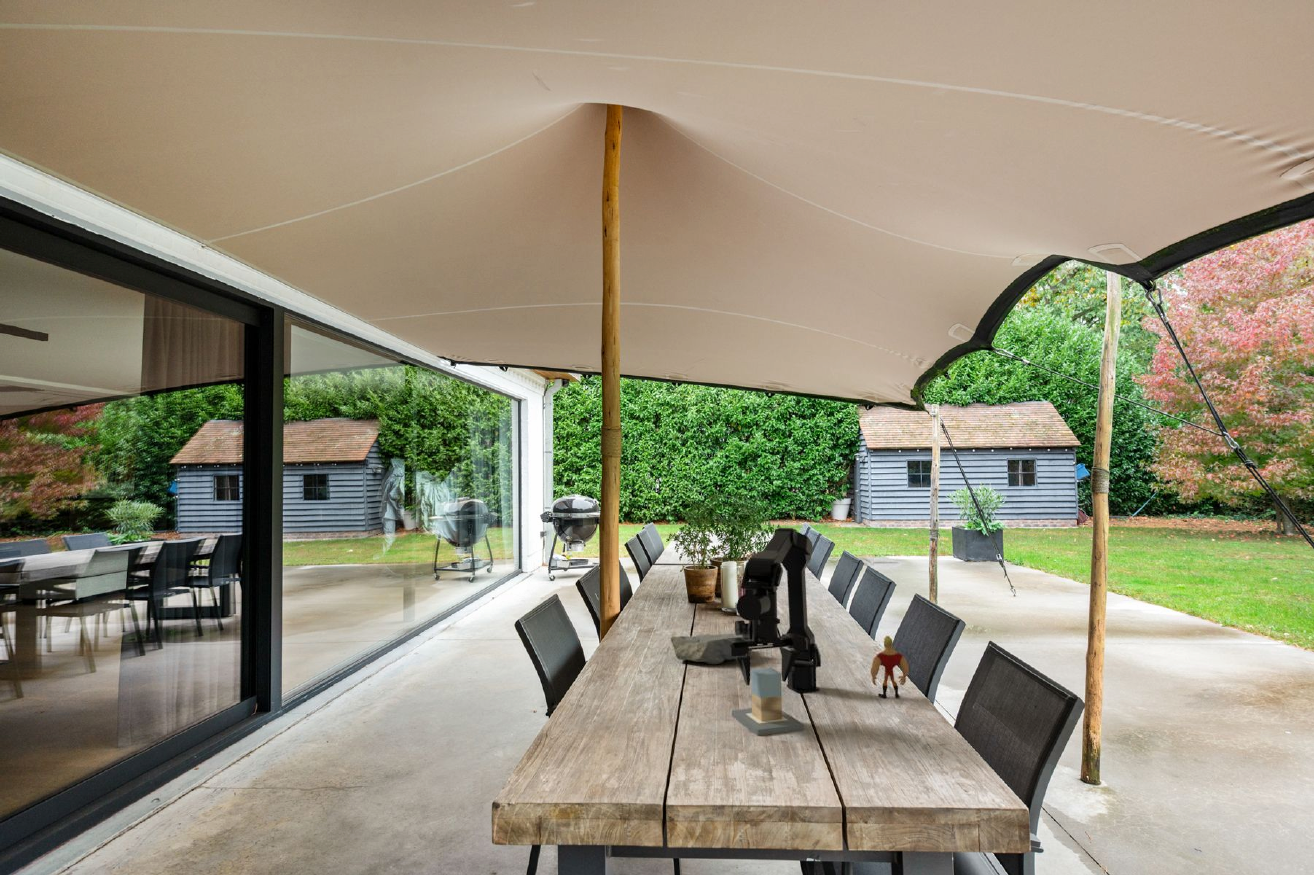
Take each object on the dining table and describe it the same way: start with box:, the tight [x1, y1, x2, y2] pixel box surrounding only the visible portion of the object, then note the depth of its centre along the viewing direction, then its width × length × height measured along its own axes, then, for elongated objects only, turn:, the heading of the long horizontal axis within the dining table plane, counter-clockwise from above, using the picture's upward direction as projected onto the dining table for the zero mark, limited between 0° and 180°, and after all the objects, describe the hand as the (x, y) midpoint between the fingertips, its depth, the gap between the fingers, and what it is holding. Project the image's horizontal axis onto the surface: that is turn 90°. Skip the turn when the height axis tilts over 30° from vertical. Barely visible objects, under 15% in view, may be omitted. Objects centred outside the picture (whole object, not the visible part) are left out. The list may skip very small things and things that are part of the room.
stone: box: [670, 633, 753, 665], centre depth 227 cm, size 24×8×25 cm
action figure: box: [870, 635, 910, 699], centre depth 184 cm, size 10×4×15 cm, turn 91°
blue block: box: [750, 667, 783, 698], centre depth 165 cm, size 5×5×5 cm
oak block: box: [751, 692, 783, 721], centre depth 165 cm, size 5×5×5 cm
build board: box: [731, 707, 805, 736], centre depth 165 cm, size 11×14×1 cm
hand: (765, 683), depth 166 cm, fingers open, 9 cm apart
